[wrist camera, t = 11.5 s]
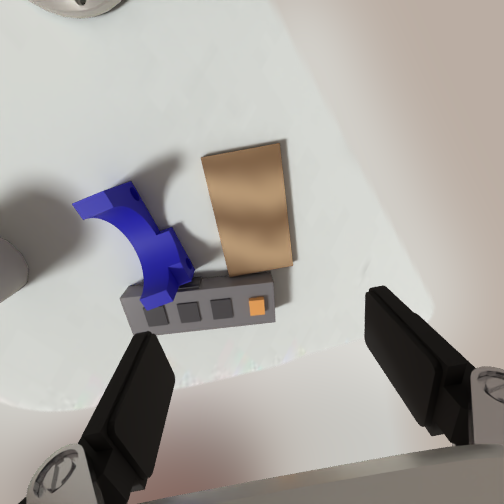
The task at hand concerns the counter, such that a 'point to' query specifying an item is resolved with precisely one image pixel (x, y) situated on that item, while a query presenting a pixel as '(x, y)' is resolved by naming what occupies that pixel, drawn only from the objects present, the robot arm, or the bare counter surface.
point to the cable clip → (143, 241)
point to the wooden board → (250, 208)
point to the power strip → (205, 305)
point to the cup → (11, 270)
